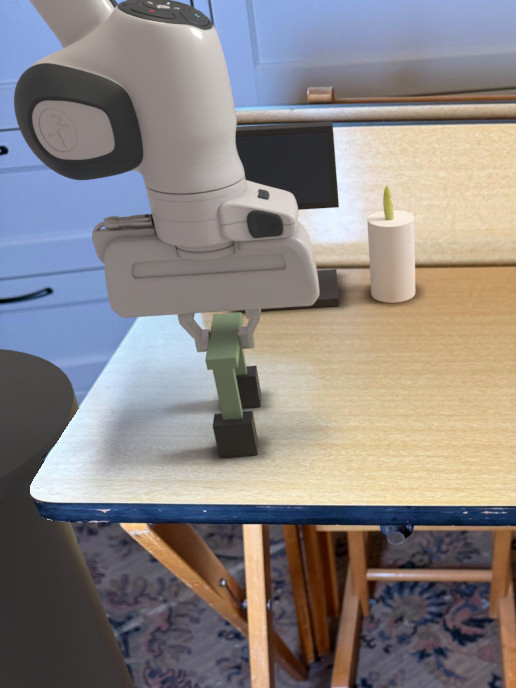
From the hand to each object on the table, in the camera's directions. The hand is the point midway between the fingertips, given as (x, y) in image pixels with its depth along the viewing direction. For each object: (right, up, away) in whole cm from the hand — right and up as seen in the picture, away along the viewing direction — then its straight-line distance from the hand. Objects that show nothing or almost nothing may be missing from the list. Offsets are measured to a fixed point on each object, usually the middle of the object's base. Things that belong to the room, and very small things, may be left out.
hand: (226, 347), depth 82 cm
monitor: (+2, +15, +32) cm, 35 cm away
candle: (+17, +15, +31) cm, 39 cm away
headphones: (0, -7, +6) cm, 10 cm away
